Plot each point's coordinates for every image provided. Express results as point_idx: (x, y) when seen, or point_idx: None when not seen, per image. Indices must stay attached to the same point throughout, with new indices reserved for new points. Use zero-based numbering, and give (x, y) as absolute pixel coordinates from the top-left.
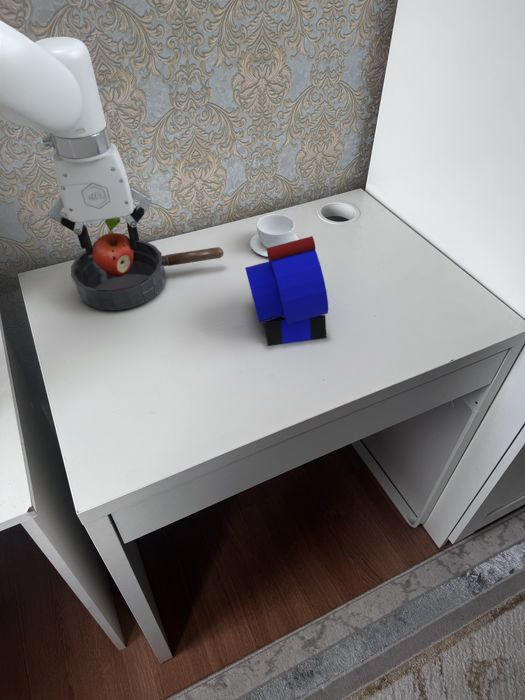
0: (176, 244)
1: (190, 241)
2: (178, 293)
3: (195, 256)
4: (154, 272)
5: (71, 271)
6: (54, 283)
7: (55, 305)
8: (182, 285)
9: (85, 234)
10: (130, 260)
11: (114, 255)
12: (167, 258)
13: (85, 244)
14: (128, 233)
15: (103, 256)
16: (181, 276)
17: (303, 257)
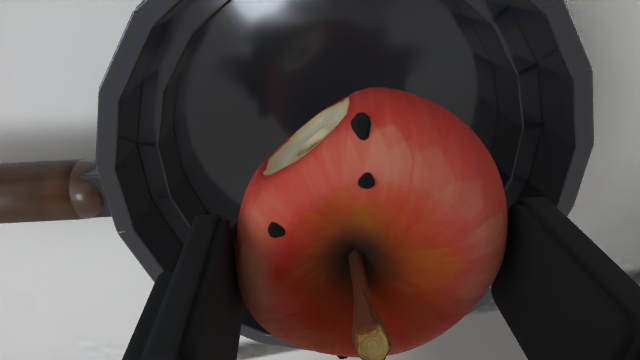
0: (133, 322)
1: (80, 330)
2: (68, 11)
3: None
4: (126, 64)
5: (583, 169)
6: (590, 190)
7: (626, 51)
8: (60, 71)
9: (624, 336)
10: (264, 163)
11: (358, 144)
12: (71, 185)
13: (592, 252)
14: (203, 315)
15: (443, 147)
16: (77, 137)
17: None
